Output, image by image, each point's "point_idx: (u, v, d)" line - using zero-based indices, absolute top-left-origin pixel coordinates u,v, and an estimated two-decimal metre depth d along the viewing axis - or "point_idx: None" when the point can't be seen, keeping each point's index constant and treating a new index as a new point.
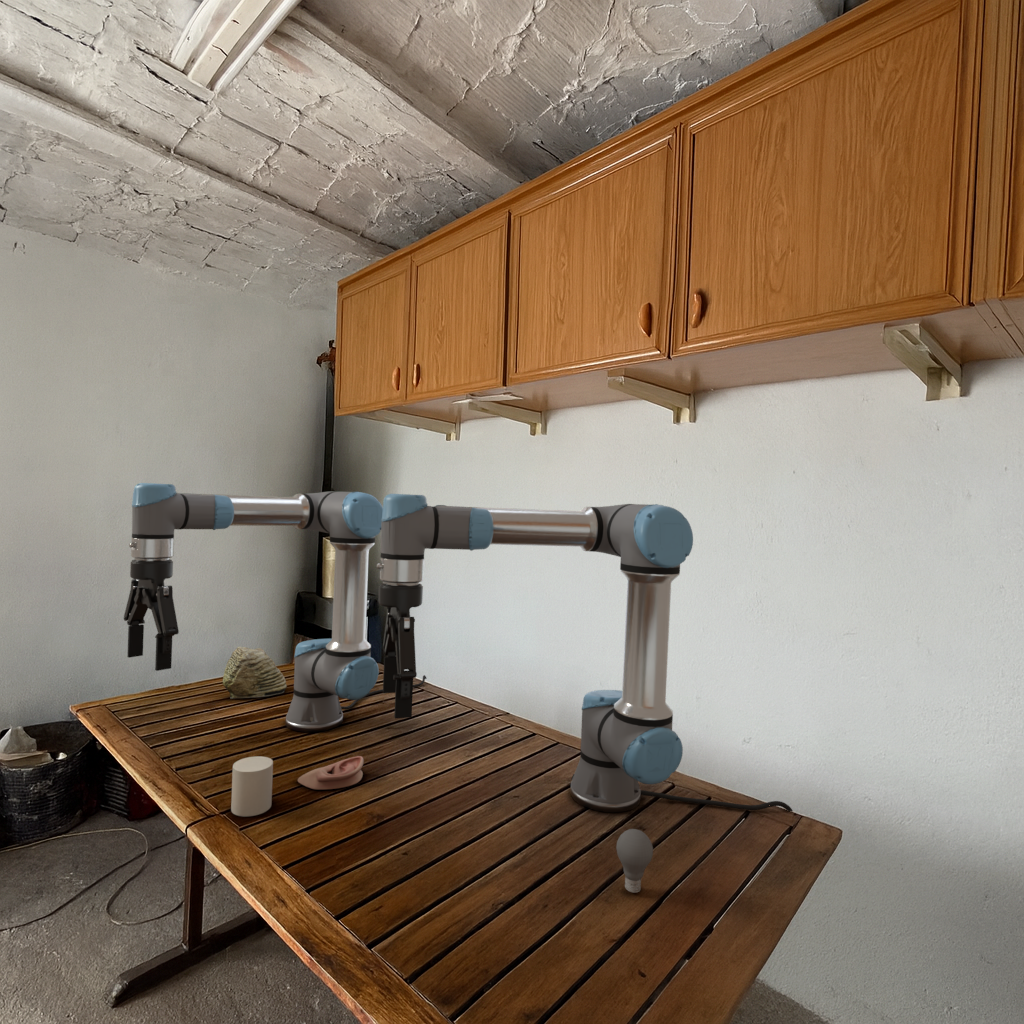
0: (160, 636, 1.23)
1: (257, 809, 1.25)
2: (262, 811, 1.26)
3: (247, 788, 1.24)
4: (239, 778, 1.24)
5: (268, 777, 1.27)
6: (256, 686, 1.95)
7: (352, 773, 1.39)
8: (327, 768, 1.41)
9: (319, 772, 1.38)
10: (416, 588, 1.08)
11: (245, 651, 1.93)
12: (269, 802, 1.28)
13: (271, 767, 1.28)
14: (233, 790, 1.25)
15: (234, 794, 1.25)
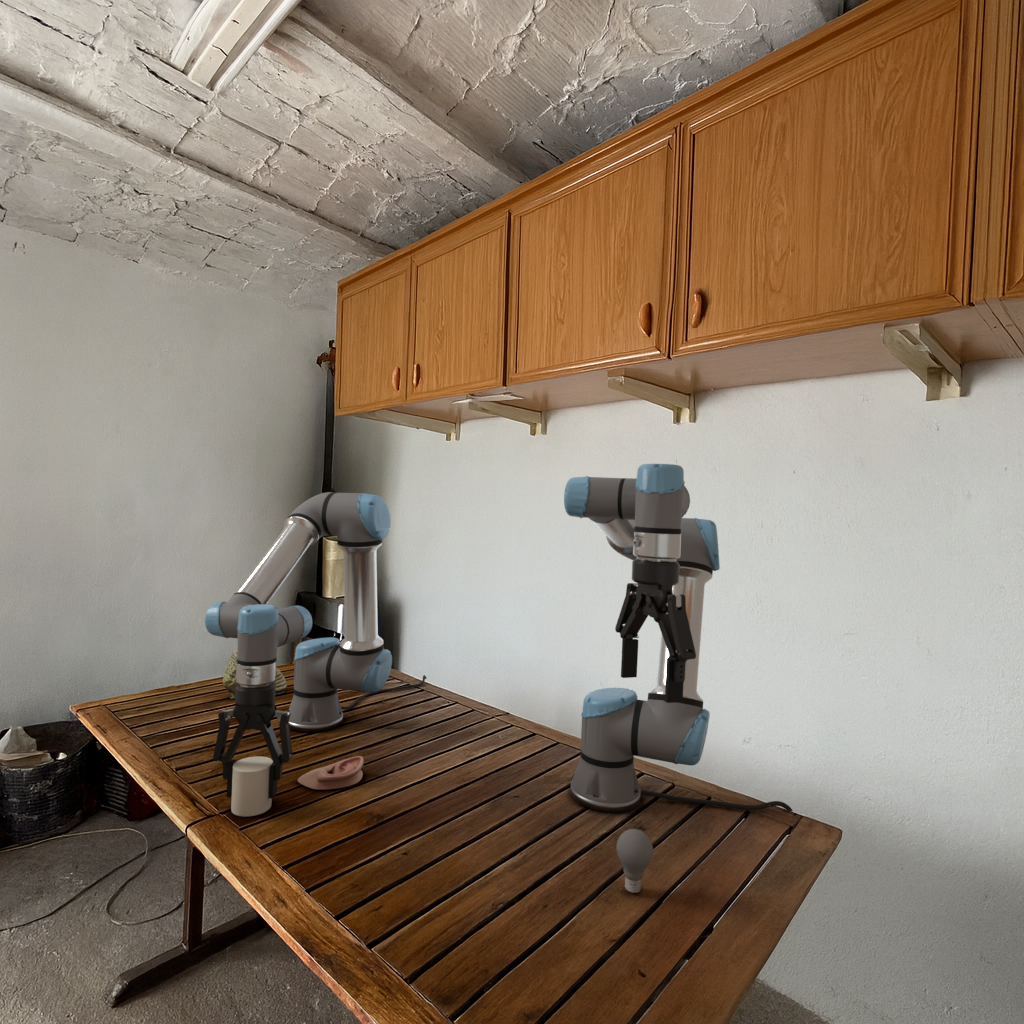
0: None
1: (257, 809, 1.25)
2: (262, 811, 1.26)
3: (247, 788, 1.24)
4: (239, 778, 1.24)
5: (268, 777, 1.27)
6: None
7: (352, 773, 1.39)
8: (327, 768, 1.41)
9: (319, 772, 1.38)
10: (677, 564, 1.01)
11: None
12: (269, 802, 1.28)
13: None
14: (233, 790, 1.25)
15: (234, 794, 1.25)
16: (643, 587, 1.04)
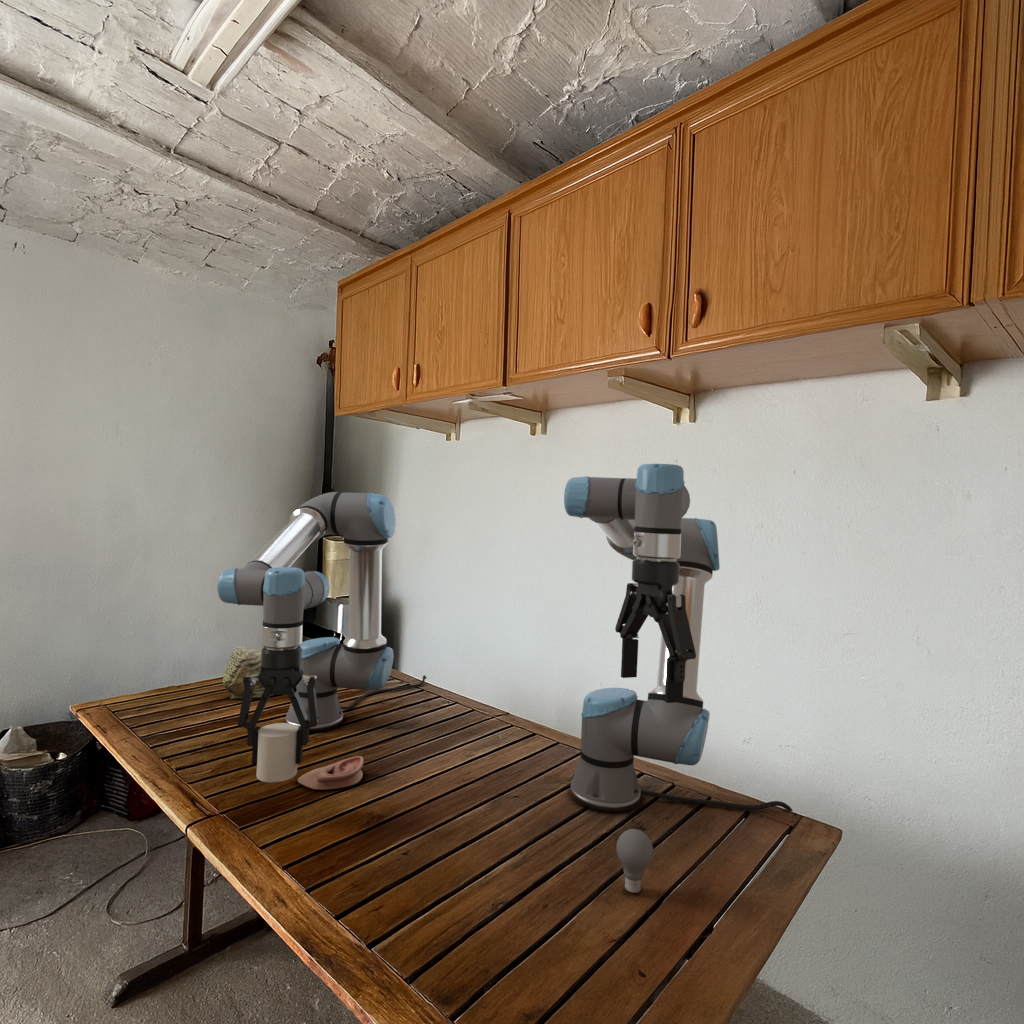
0: None
1: (285, 775, 1.22)
2: (290, 777, 1.23)
3: (275, 753, 1.22)
4: (267, 743, 1.21)
5: (295, 742, 1.24)
6: (256, 686, 1.95)
7: (352, 773, 1.39)
8: (327, 768, 1.41)
9: (319, 772, 1.38)
10: (677, 564, 1.01)
11: (245, 651, 1.93)
12: (296, 768, 1.25)
13: None
14: (259, 756, 1.22)
15: (261, 760, 1.22)
16: (643, 587, 1.04)
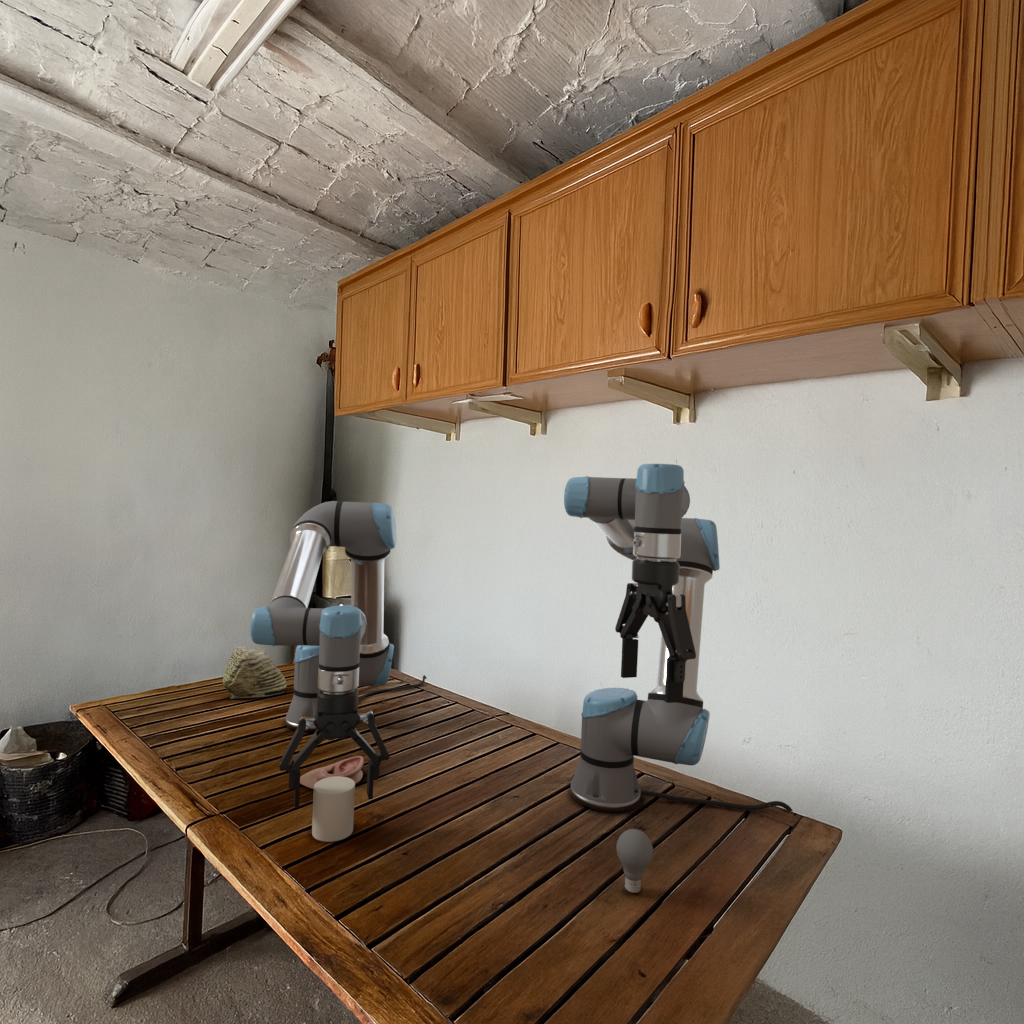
0: None
1: (346, 832, 1.18)
2: (350, 833, 1.19)
3: (337, 811, 1.17)
4: (328, 802, 1.17)
5: (353, 796, 1.20)
6: (256, 686, 1.95)
7: (352, 773, 1.39)
8: (327, 768, 1.41)
9: (319, 772, 1.38)
10: (677, 564, 1.01)
11: (245, 651, 1.93)
12: None
13: None
14: (319, 815, 1.17)
15: (322, 820, 1.17)
16: (643, 587, 1.04)
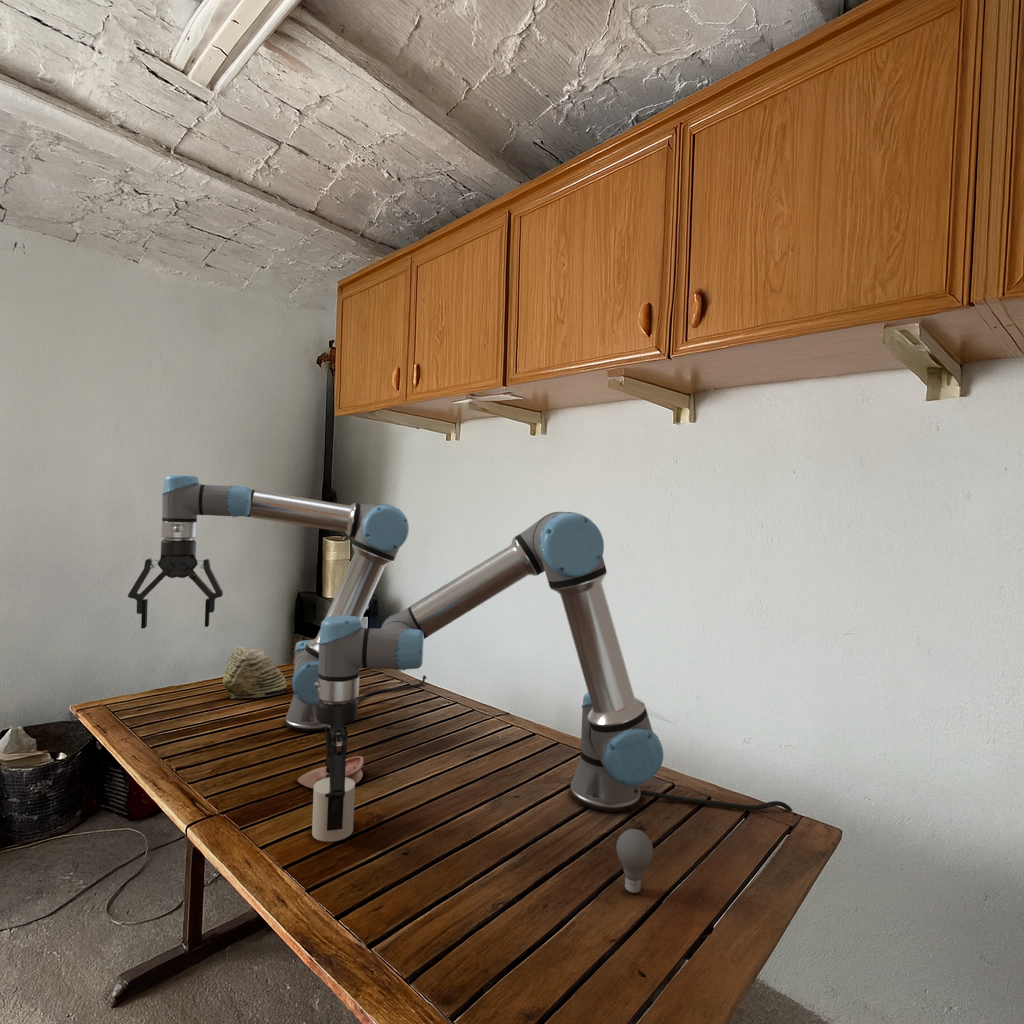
0: (213, 598, 1.55)
1: (346, 832, 1.18)
2: (350, 833, 1.19)
3: None
4: None
5: (353, 796, 1.20)
6: (256, 686, 1.95)
7: (352, 773, 1.39)
8: None
9: (319, 772, 1.38)
10: (350, 706, 1.18)
11: (245, 651, 1.93)
12: None
13: None
14: (319, 815, 1.17)
15: (322, 820, 1.17)
16: None
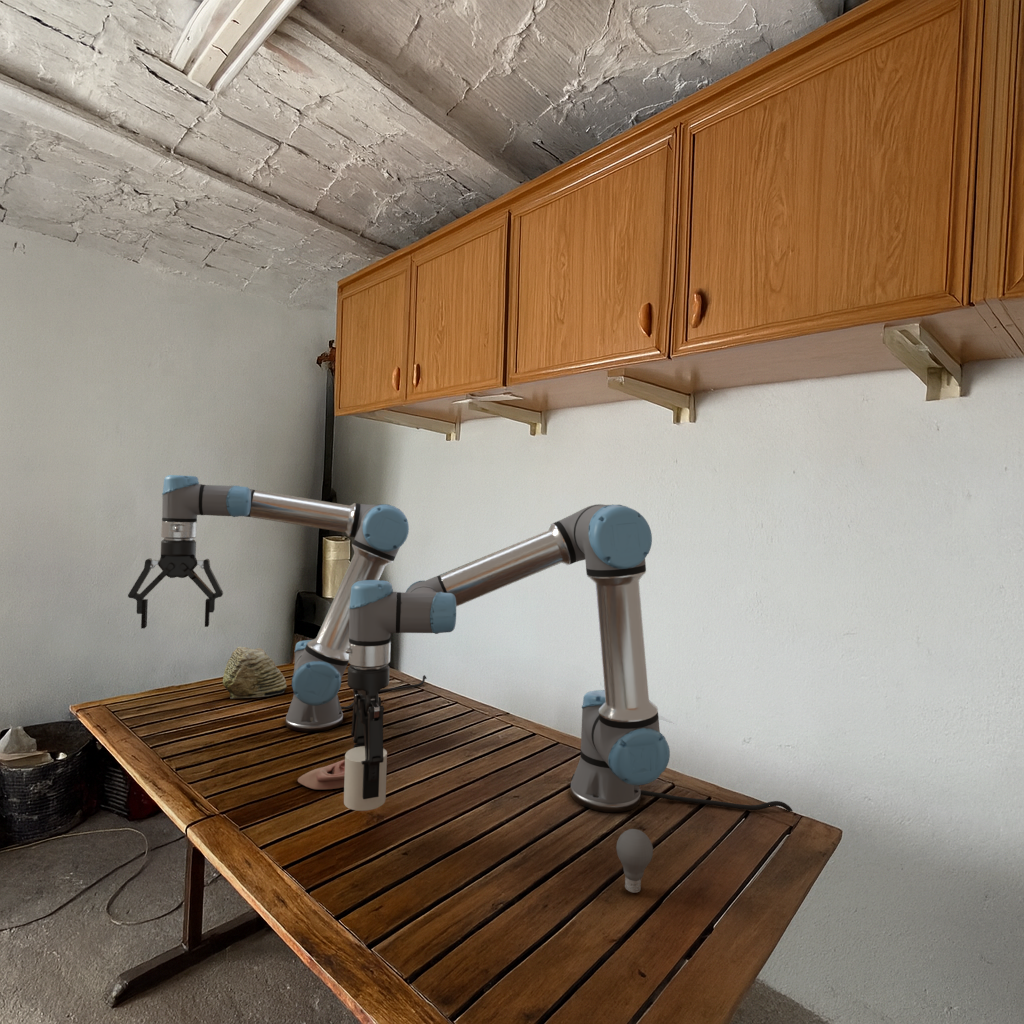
0: (213, 598, 1.55)
1: (381, 800, 1.16)
2: (384, 801, 1.17)
3: None
4: None
5: (386, 764, 1.18)
6: (256, 686, 1.95)
7: None
8: (327, 768, 1.41)
9: (319, 772, 1.38)
10: (383, 671, 1.15)
11: (245, 651, 1.93)
12: None
13: None
14: (353, 784, 1.14)
15: (356, 789, 1.14)
16: None
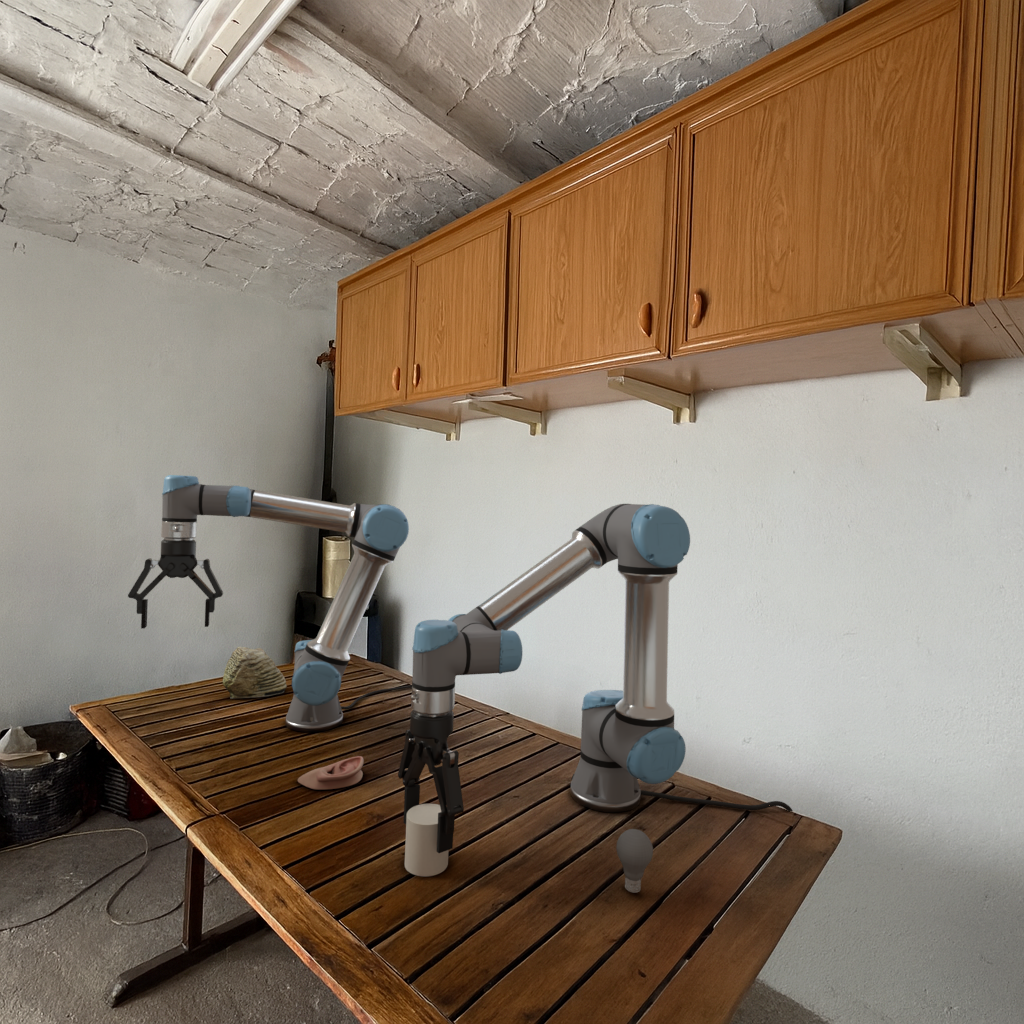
0: (213, 598, 1.55)
1: (446, 861, 1.10)
2: None
3: None
4: (433, 832, 1.07)
5: None
6: (256, 686, 1.95)
7: (352, 773, 1.39)
8: (327, 768, 1.41)
9: (319, 772, 1.38)
10: (451, 716, 1.09)
11: (245, 651, 1.93)
12: None
13: None
14: (421, 849, 1.07)
15: (425, 853, 1.07)
16: None
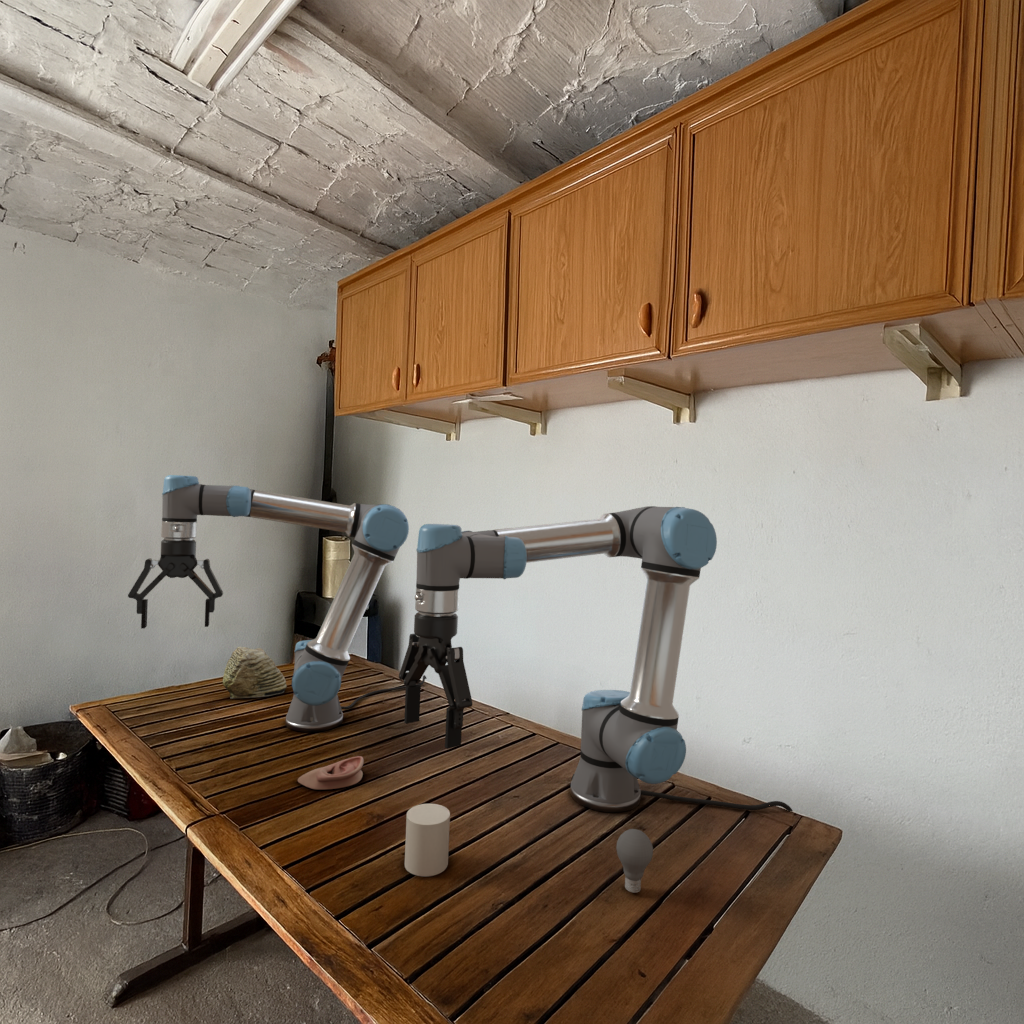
0: (213, 598, 1.55)
1: (446, 861, 1.10)
2: None
3: (441, 841, 1.08)
4: (433, 832, 1.07)
5: None
6: (256, 686, 1.95)
7: (352, 773, 1.39)
8: (327, 768, 1.41)
9: (319, 772, 1.38)
10: (456, 618, 1.09)
11: (245, 651, 1.93)
12: None
13: None
14: (421, 849, 1.07)
15: (425, 853, 1.07)
16: (425, 639, 1.11)
